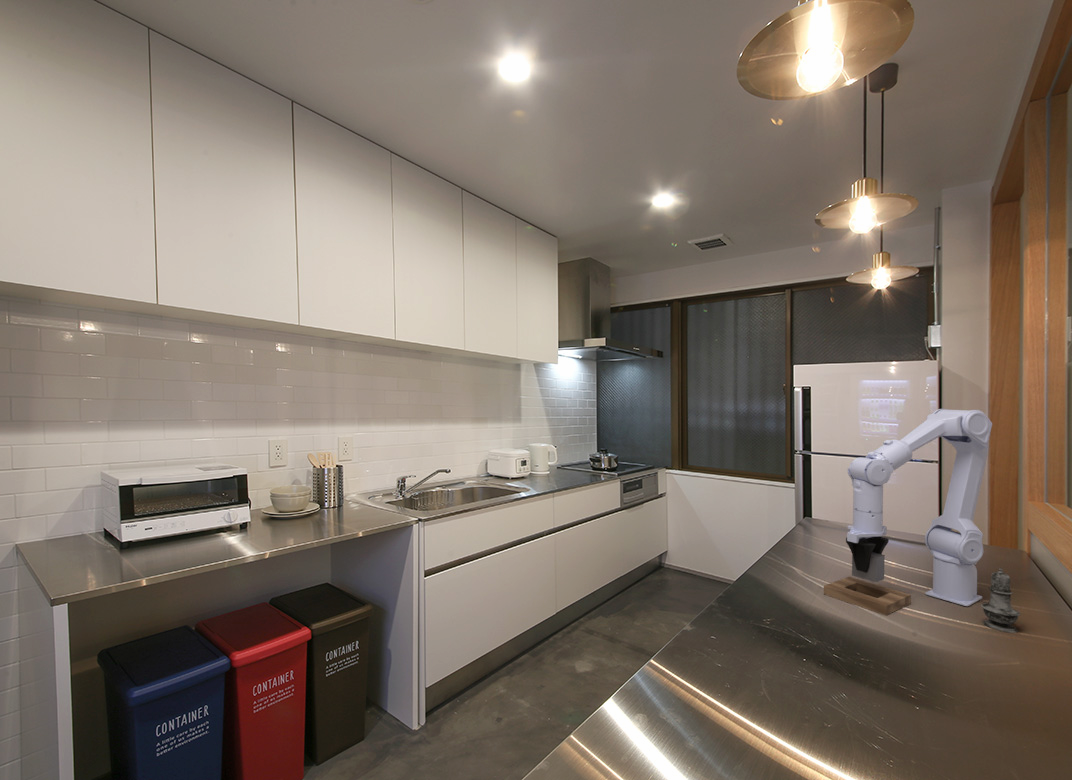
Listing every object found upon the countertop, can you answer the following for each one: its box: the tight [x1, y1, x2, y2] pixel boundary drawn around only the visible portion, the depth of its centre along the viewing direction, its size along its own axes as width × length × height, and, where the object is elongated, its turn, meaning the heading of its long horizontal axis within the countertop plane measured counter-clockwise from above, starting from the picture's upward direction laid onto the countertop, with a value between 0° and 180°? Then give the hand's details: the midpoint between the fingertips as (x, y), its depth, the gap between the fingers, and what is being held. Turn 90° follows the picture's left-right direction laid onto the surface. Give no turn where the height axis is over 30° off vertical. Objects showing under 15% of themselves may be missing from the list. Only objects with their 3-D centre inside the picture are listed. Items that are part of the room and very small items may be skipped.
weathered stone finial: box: [980, 567, 1021, 634], centre depth 102 cm, size 6×6×12 cm
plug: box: [851, 552, 886, 583], centre depth 115 cm, size 4×5×6 cm
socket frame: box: [823, 576, 912, 616], centre depth 115 cm, size 12×13×2 cm
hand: (866, 569), depth 115 cm, fingers closed on plug, 4 cm apart
